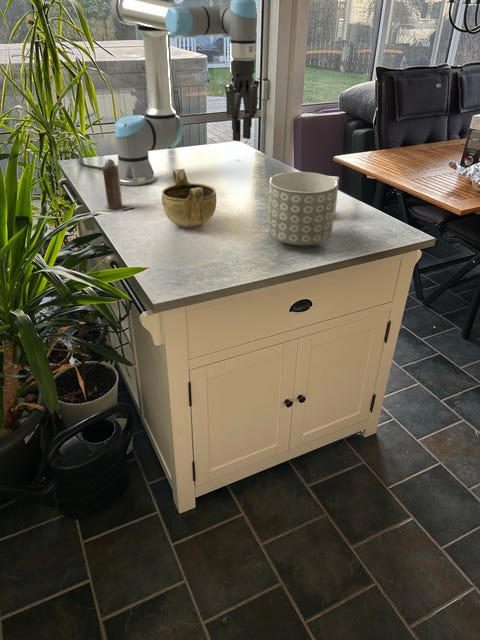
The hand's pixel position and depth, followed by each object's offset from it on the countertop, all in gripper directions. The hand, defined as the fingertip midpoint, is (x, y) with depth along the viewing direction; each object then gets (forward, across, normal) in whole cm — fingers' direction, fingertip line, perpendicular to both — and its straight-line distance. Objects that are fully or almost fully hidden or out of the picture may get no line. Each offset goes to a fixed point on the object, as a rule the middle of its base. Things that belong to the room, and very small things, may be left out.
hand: (241, 139), depth 165 cm
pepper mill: (+23, -32, +30) cm, 49 cm away
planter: (+23, -10, -33) cm, 41 cm away
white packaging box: (+23, +13, -26) cm, 37 cm away
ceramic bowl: (+23, -24, 0) cm, 33 cm away
